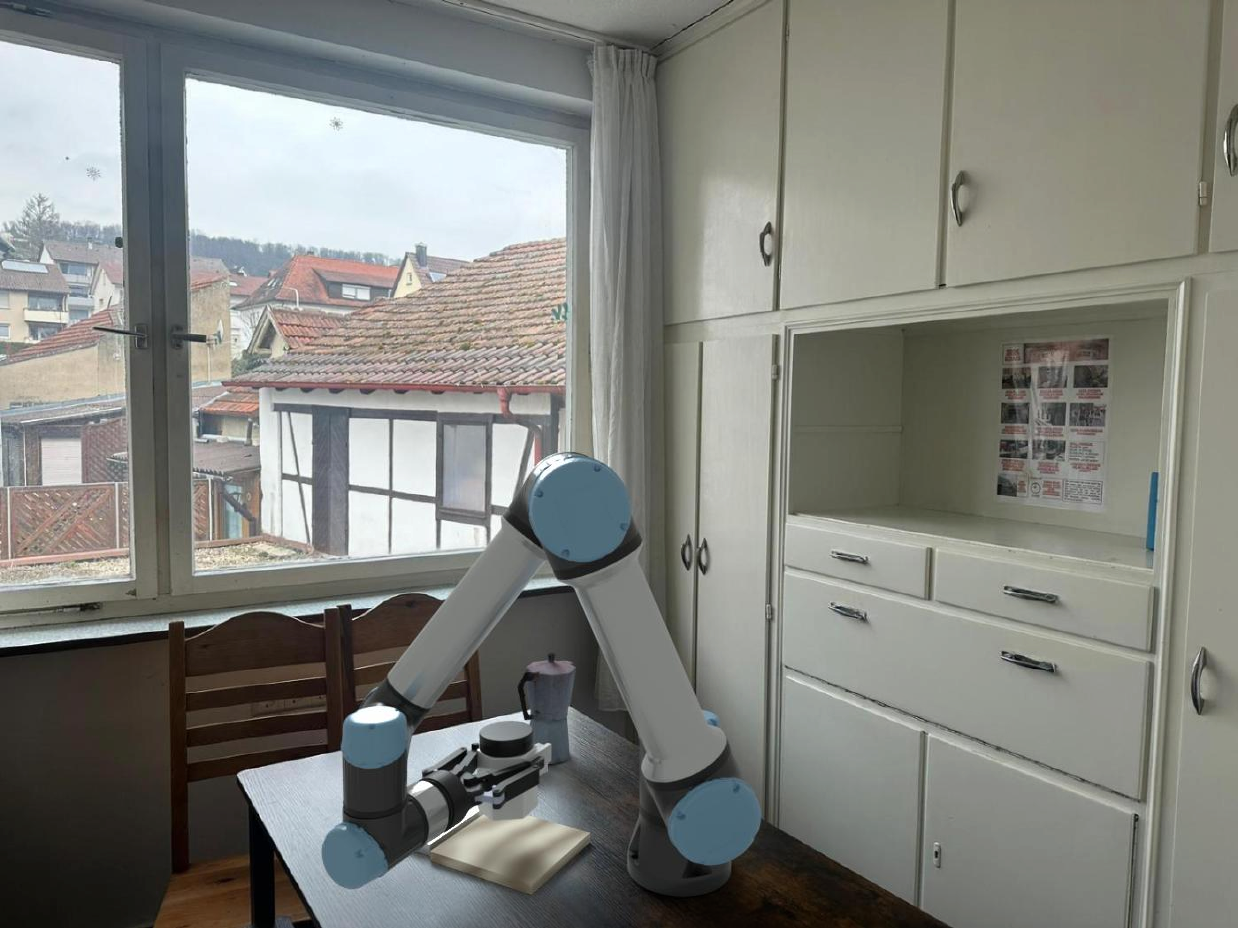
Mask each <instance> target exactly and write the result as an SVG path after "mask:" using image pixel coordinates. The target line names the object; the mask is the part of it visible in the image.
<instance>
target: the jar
mask: <svg viewBox="0 0 1238 928" xmlns="http://www.w3.org/2000/svg"><path fill="white" fill-rule="evenodd" d="M529 724H530V723H526V722H523V721H518V720H517V721H516V720H504V721H497V722H493V723H489V724H487V725H485V726H484V727H482V728H481V729H480V731H479V734H478V735H479V737H478V738H479V748H478V749H477V769H476V774H478V773H481V772H484V771H488V772H490V773H491V772H495V771H498V770H501V769H504V768H507V767H510V766H513V765H516V764H519V763H522V762H524V758H526V757H527V756H528V755H529V754H531V753H532V752H534V751H535V750H537V746H536V745H534V729H533V727H532V726H531V725H529ZM538 788H539V787H538V785H537V786H535V787H533V788H531V789H529V790H528V791H526V792H524V793H522V794H520V795H519V796H517V797H515V798H513V799H511V800H510V801H508V802H506V803H505V804H504V805H503V806H502V808H501V809H498V810H495V809H493V808H492V803H488V802H483V803H482V804H481V805H478V810H479V811H481V812H482V813H483V814H484V815H486V816H487V817H488V818H490V819H491V820H492V821H500V820H515V819H524V818H525V817H526V816H527V815H529V814H530V813H531V812H532V811H534V810H535V809H536V808H537V807H538V805H539V794H538V793H539V791H538V790H539V789H538Z"/></svg>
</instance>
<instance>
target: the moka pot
mask: <svg viewBox="0 0 1238 928" xmlns="http://www.w3.org/2000/svg"><path fill="white" fill-rule="evenodd" d="M556 655H557V654H556V653H554V652H549V653H547V659H548V660H543V661H533V662H531V663H530V664H529V665H527V666H526V668H525V671H524V673H523V676H522V678H521V679H520V681H519V683H518V684H517V693H518V696H519V701H520V707H521V711H522V712H521V713H522V716H523V721H529V723H528V724H529V725H531V726H532V727H533V729H534V745H535V744H537V743H540V744H543V745H545V744H546V743H550V744H551V762H549V763H548V765H551V764H552V765H553V764H559V763H563V762H565V761H567V760H569V759H570V756H571V751H570V740H569V725H568V714H569V713H568V712H569V707H570V706H571V701H572V696H573V695H572V694H573V689H574V682H575V676H576V666H574V663H573V662H572V661H569V660H559V661H558V660H555V659H556ZM525 684H526V685H527V686H526V687H527V699H528V702H526V692H525V689H524V687H525ZM526 703H528V706H529V708H530V710H529V711H530V714H529V712H528V708H527V704H526Z"/></svg>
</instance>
